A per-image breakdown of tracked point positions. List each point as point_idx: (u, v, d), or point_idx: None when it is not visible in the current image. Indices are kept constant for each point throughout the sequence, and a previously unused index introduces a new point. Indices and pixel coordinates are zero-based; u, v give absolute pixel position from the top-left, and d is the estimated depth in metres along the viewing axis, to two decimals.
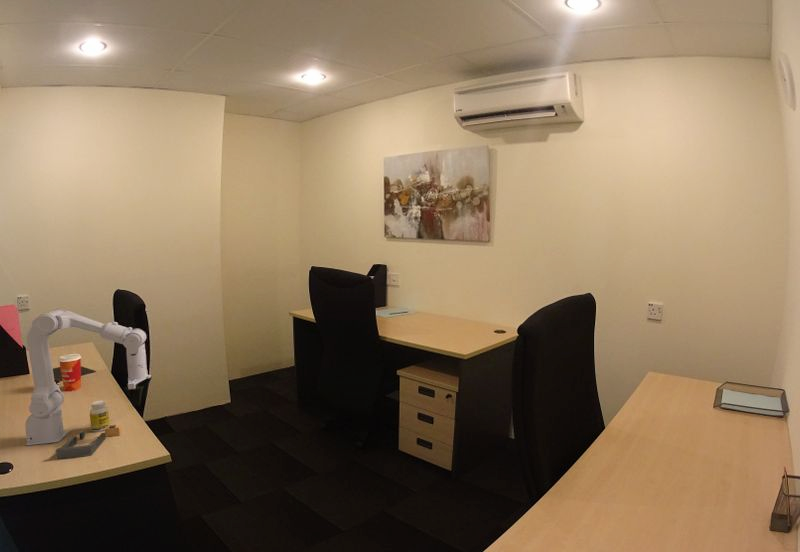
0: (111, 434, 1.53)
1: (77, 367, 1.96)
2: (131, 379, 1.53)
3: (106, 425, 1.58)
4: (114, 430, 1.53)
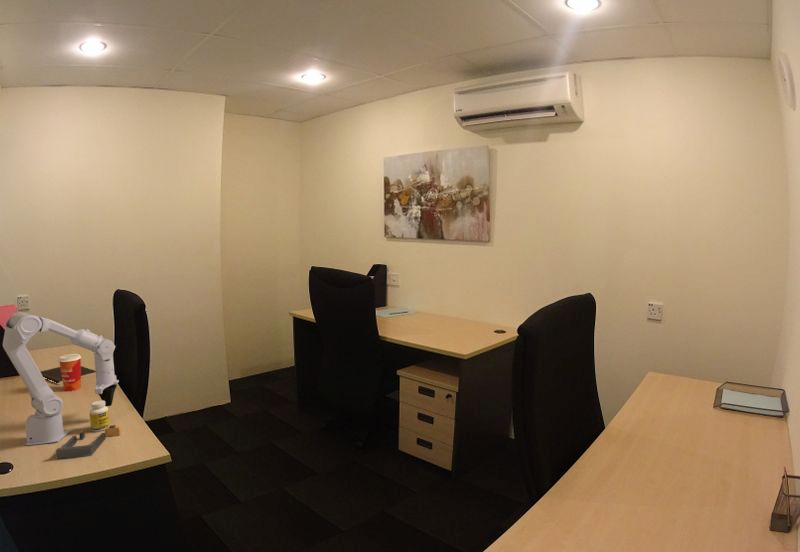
0: (111, 434, 1.53)
1: (77, 367, 1.96)
2: (99, 384, 1.62)
3: (106, 425, 1.58)
4: (114, 430, 1.53)
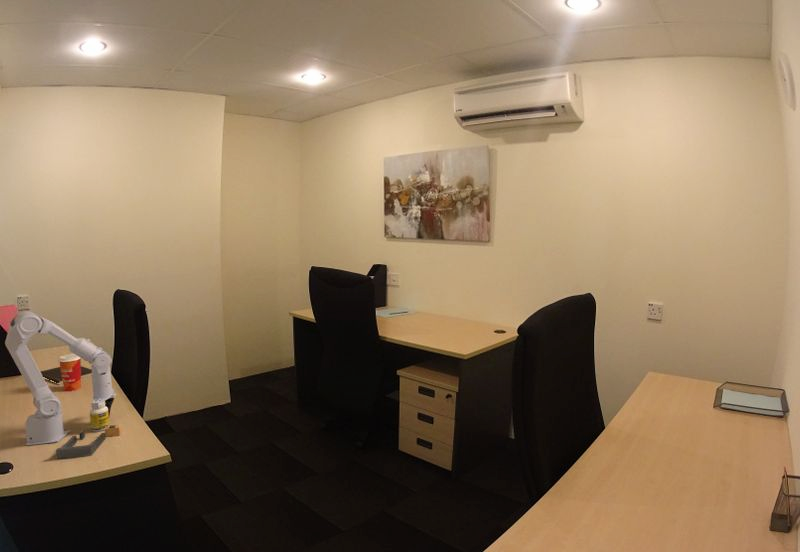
0: (111, 434, 1.53)
1: (77, 367, 1.96)
2: (96, 398, 1.59)
3: (106, 425, 1.58)
4: (114, 430, 1.53)
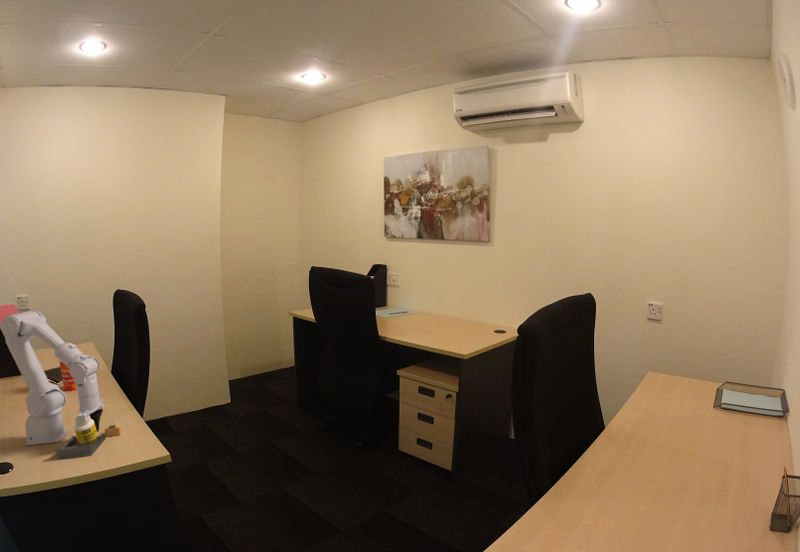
0: (111, 434, 1.53)
1: None
2: (82, 410, 1.47)
3: (93, 440, 1.47)
4: (114, 430, 1.53)
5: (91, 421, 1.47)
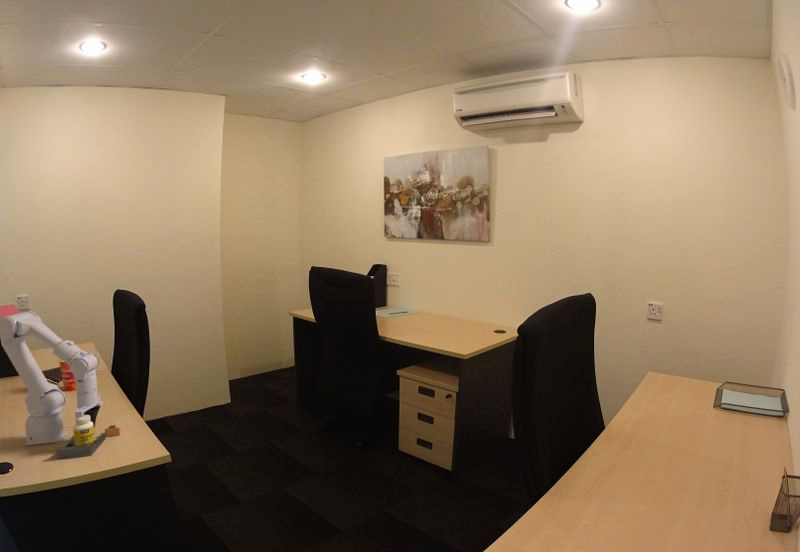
0: (111, 434, 1.53)
1: None
2: (80, 406, 1.47)
3: (89, 443, 1.46)
4: (114, 430, 1.53)
5: (91, 422, 1.47)
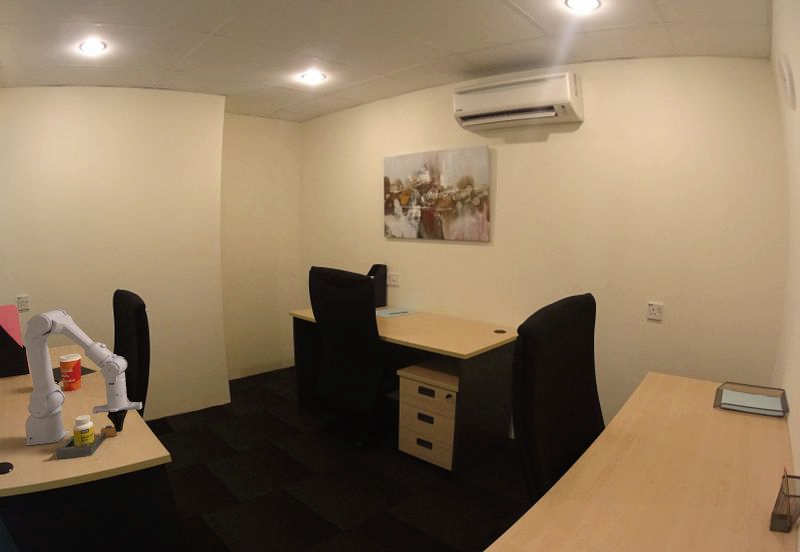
0: (107, 434, 1.53)
1: (77, 367, 1.96)
2: None
3: (89, 443, 1.46)
4: (110, 430, 1.53)
5: (90, 422, 1.47)
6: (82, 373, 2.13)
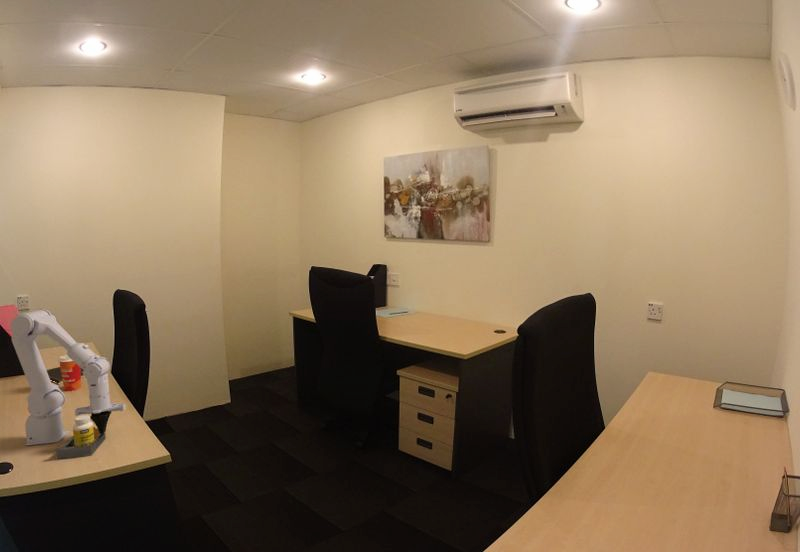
0: None
1: (77, 367, 1.96)
2: None
3: (89, 443, 1.46)
4: None
5: (90, 422, 1.47)
6: (82, 373, 2.13)
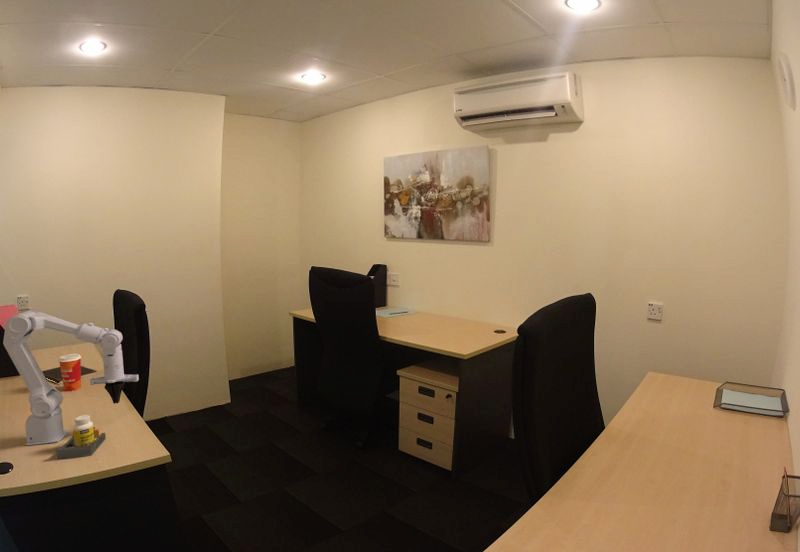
0: None
1: (77, 367, 1.96)
2: None
3: (89, 443, 1.46)
4: None
5: (90, 422, 1.47)
6: (82, 373, 2.13)
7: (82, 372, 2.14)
